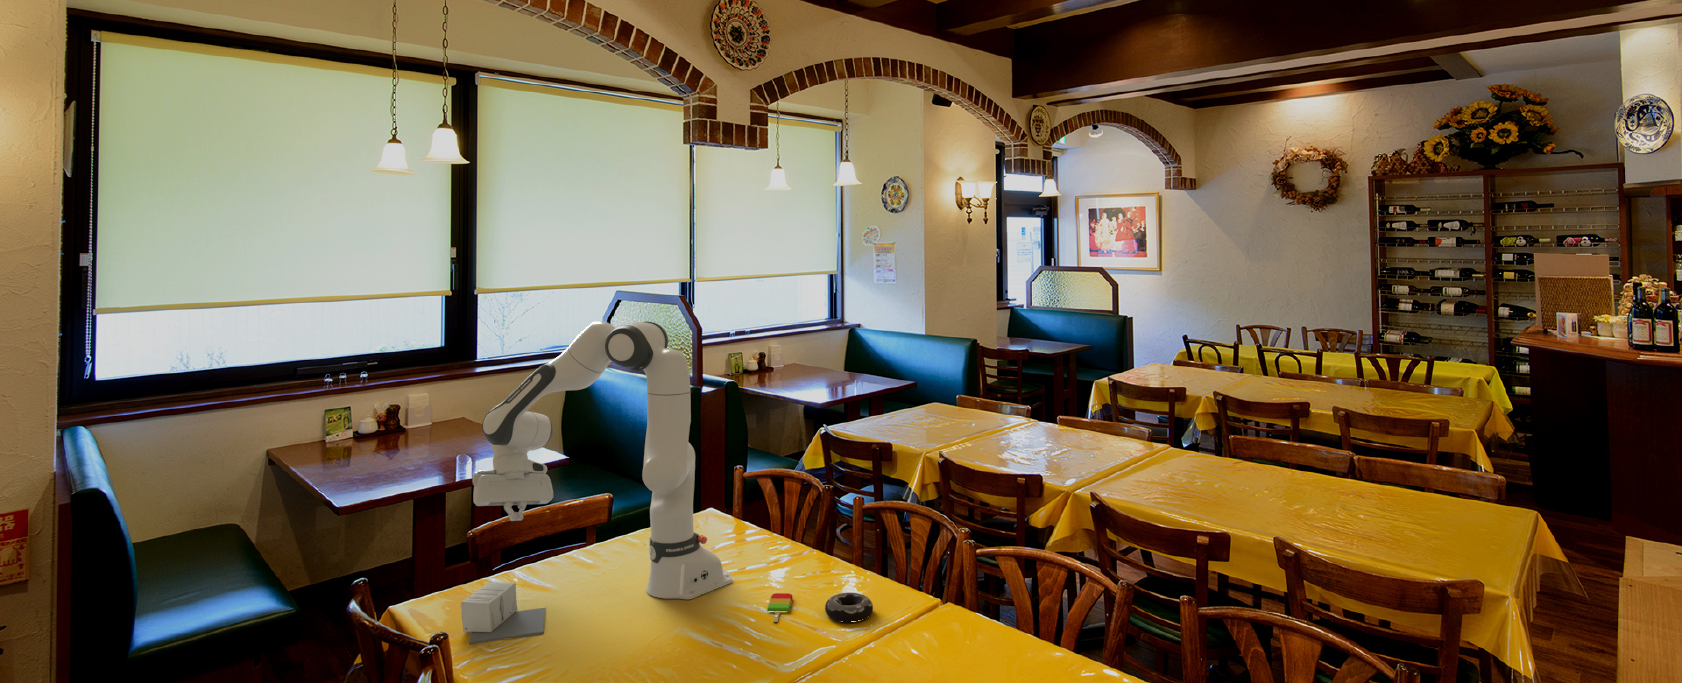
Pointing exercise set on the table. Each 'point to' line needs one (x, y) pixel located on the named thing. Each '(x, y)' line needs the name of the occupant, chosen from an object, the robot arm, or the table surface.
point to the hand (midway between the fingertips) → (516, 519)
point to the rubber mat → (514, 627)
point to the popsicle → (779, 603)
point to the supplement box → (489, 607)
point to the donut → (848, 607)
